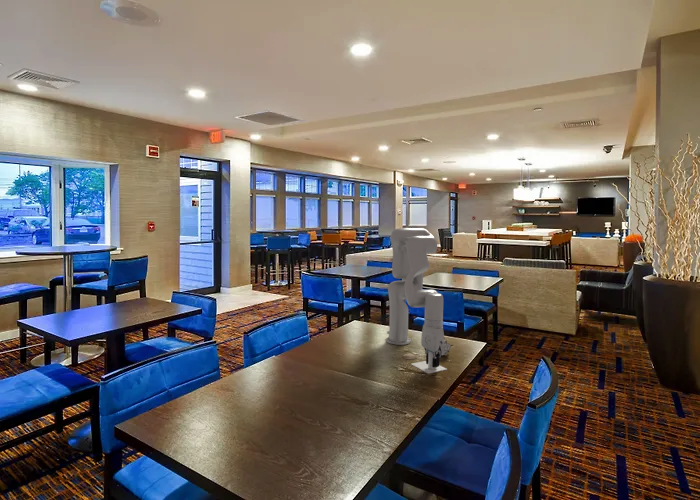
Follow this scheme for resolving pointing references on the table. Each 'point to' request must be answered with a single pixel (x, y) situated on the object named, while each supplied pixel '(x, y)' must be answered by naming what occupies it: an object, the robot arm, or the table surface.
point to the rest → (409, 356)
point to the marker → (431, 360)
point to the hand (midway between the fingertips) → (432, 364)
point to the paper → (424, 367)
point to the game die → (446, 347)
